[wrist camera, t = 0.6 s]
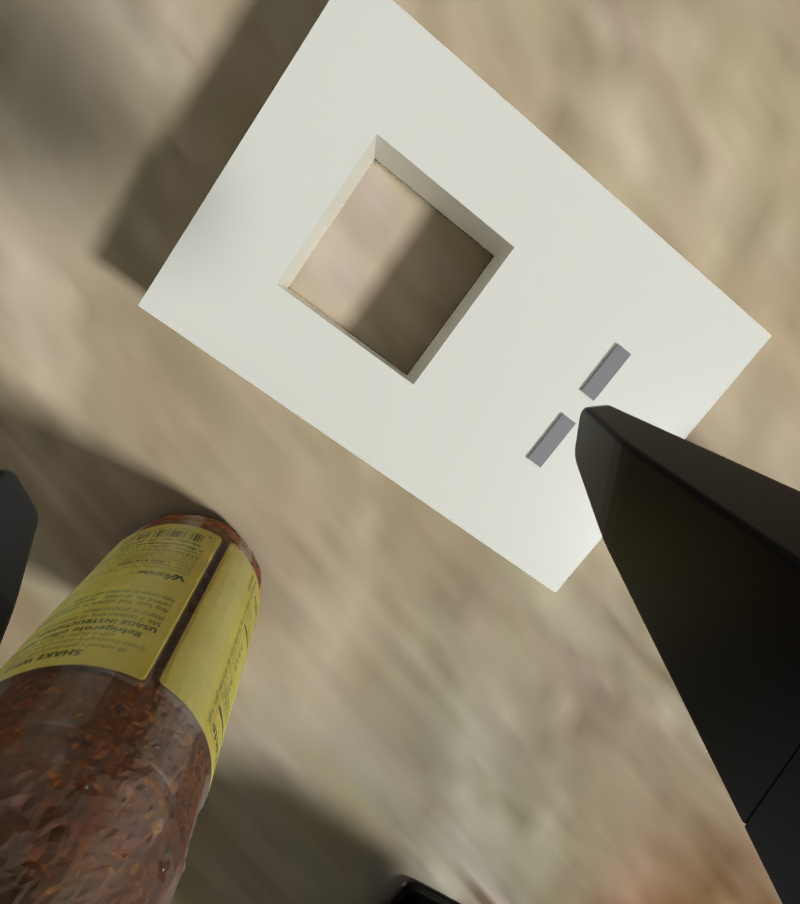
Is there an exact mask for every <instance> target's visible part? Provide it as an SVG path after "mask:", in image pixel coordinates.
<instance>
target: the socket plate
mask: <svg viewBox="0 0 800 904" xmlns="http://www.w3.org/2000/svg"><path fill="white" fill-rule="evenodd" d="M375 159H376V160H377V161H378V162H379V163H380V164H382V165H383V166H384V167H385V168H387V169H388V170H389V171H390V172H392V173H393V174H394V175H395V176H396V177H398V178H399V179H400V180H401V181H403V182H404V183H405V184H406V185H407V186H409V187H410V188H411V189H412V190H414V191H415V192H416V193H417V194H419V195H420V196H421V197H422V198H423V199H425V200H426V201H427V202H428V203H430V204H431V205H432V206H433V207H435V208H436V209H437V210H438V211H439V212H441V213H442V214H443V215H444V216H446V217H447V218H448V219H449V220H450V221H452V222H453V223H454V224H455V225H457V226H458V227H459V228H460V229H462V230H463V231H464V232H465V233H466V234H468V235H469V236H470V237H471V238H473V239H474V240H475V241H476V242H478V243H479V244H480V245H481V246H482V247H484V248H485V249H486V250H487V251H489V252H490V253H491V254H492V255H493V256H494V257H493V259H492V260H491V261H490V263H489V264H488V266H487V267H486V268H485V270H484V271H483V272H482V274H481V275H480V276H479V278H478V279H477V281H476V282H475V283H474V285H473V286H472V287H471V289H470V290H469V292H468V293H467V294H466V296H465V297H464V298H463V300H462V301H461V302H460V304H459V305H458V307H457V308H456V309H455V311H454V312H453V313H452V315H451V316H450V317H449V319H448V320H447V322H446V323H445V324H444V326H443V327H442V328H441V330H440V331H439V333H438V334H437V335H436V337H435V338H434V339H433V341H432V342H431V343H430V345H429V346H428V348H427V349H426V350H425V352H424V353H423V354H422V356H421V357H420V359H419V360H418V361H417V363H416V364H415V365H414V367H413V368H412V369H411V371H410V372H409V374H408V375H406V374H404V373H403V372H402V371H400V370H399V369H397V368H396V367H395V366H393V365H392V364H391V363H389V362H388V361H387V360H385V359H384V358H383V357H381V356H380V355H378V354H377V353H376V352H374V351H373V350H372V349H370V348H369V347H368V346H366V345H365V344H363V343H362V342H361V341H359V340H358V339H357V338H355V337H354V336H353V335H351V334H350V333H349V332H347V331H346V330H344V329H343V328H342V327H340V326H339V325H338V324H336V323H335V322H334V321H332V320H331V319H329V318H328V317H327V316H325V315H324V314H323V313H321V312H320V311H319V310H317V309H316V308H315V307H313V306H312V305H310V304H309V303H308V302H306V301H305V300H304V299H302V298H301V297H300V296H298V295H297V294H296V293H294V292H293V291H291V290H290V289H289V286H290V285H291V283H292V282H293V280H294V279H295V277H296V276H297V274H298V273H299V271H300V270H301V268H302V267H303V265H304V264H305V262H306V261H307V259H308V258H309V256H310V255H311V253H312V252H313V250H314V249H315V247H316V246H317V244H318V243H319V241H320V240H321V238H322V237H323V236H324V234H325V233H326V231H327V230H328V228H329V227H330V225H331V224H332V222H333V221H334V219H335V218H336V216H337V215H338V213H339V212H340V210H341V209H342V207H343V206H344V204H345V203H346V201H347V200H348V198H349V197H350V195H351V194H352V192H353V191H354V189H355V188H356V186H357V185H358V183H359V182H360V180H361V179H362V177H363V176H364V175H365V173H366V172H367V170H368V169H369V167H370V166H371V164H372V163H373V161H374V160H375ZM138 306H140V307H141V308H142V309H144V310H145V311H147V312H148V313H150V314H151V315H153V316H154V317H156V318H157V319H158V320H160V321H161V322H163V323H164V324H166V325H167V326H169V327H170V328H172V329H173V330H174V331H176V332H177V333H179V334H180V335H182V336H183V337H185V338H186V339H188V340H189V341H190V342H192V343H193V344H195V345H196V346H198V347H199V348H201V349H202V350H204V351H205V352H206V353H208V354H209V355H211V356H212V357H214V358H215V359H217V360H218V361H219V362H221V363H222V364H224V365H225V366H227V367H228V368H230V369H231V370H233V371H234V372H235V373H237V374H238V375H240V376H241V377H243V378H244V379H246V380H247V381H249V382H250V383H251V384H253V385H254V386H256V387H257V388H259V389H260V390H262V391H263V392H265V393H266V394H267V395H269V396H270V397H272V398H273V399H275V400H276V401H278V402H279V403H281V404H282V405H283V406H285V407H286V408H288V409H289V410H291V411H292V412H294V413H295V414H296V415H298V416H299V417H301V418H302V419H304V420H305V421H307V422H308V423H310V424H311V425H312V426H314V427H315V428H317V429H318V430H320V431H321V432H323V433H324V434H326V435H327V436H328V437H330V438H331V439H333V440H334V441H336V442H337V443H339V444H340V445H342V446H343V447H344V448H346V449H347V450H349V451H350V452H352V453H353V454H355V455H356V456H357V457H359V458H360V459H362V460H363V461H365V462H366V463H368V464H369V465H371V466H372V467H373V468H375V469H376V470H378V471H379V472H381V473H382V474H384V475H385V476H387V477H388V478H389V479H391V480H392V481H394V482H395V483H397V484H398V485H400V486H401V487H403V488H404V489H405V490H407V491H408V492H410V493H411V494H413V495H414V496H416V497H417V498H419V499H420V500H421V501H423V502H424V503H426V504H427V505H429V506H430V507H432V508H433V509H434V510H436V511H437V512H439V513H440V514H442V515H443V516H445V517H446V518H448V519H449V520H450V521H452V522H453V523H455V524H456V525H458V526H459V527H461V528H462V529H464V530H465V531H466V532H468V533H469V534H471V535H472V536H474V537H475V538H477V539H478V540H480V541H481V542H482V543H484V544H485V545H487V546H488V547H490V548H491V549H493V550H494V551H495V552H497V553H498V554H500V555H501V556H503V557H504V558H506V559H507V560H509V561H510V562H511V563H513V564H514V565H516V566H517V567H519V568H520V569H522V570H523V571H525V572H526V573H527V574H529V575H530V576H532V577H533V578H535V579H536V580H538V581H539V582H541V583H542V584H543V585H545V586H546V587H548V588H549V589H551V590H552V591H554V592H555V593H556V591H557V590H558V589H559V588H560V587H561V585H562V584H563V583H564V582H565V581H566V580H567V578H568V577H569V576H570V575H571V574H572V572H573V571H574V570H575V569H576V568H577V566H578V565H579V564H580V563H581V562H582V561H583V559H584V558H585V557H586V556H587V555H588V553H589V552H590V551H591V550H592V549H593V547H594V546H595V545H596V544H597V543H598V541H599V540H600V539H601V538H602V535H601V532H600V529H599V527H598V524H597V521H596V518H595V515H594V513H593V510H592V507H591V504H590V501H589V498H588V495H587V492H586V490H585V487H584V484H583V481H582V478H581V475H580V472H579V469H578V467H577V463H576V459H575V445H576V438H577V431H578V425H579V418H580V414H581V412H582V410H583V409H584V408H585V407H591V406H600V405H610V406H612V407H614V408H617V409H619V410H621V411H623V412H625V413H628V414H630V415H632V416H634V417H636V418H639V419H641V420H643V421H645V422H647V423H650V424H652V425H654V426H656V427H658V428H661V429H663V430H665V431H667V432H670V433H672V434H674V435H676V436H678V437H681V438H683V439H685V438H686V437H687V436H688V434H689V433H690V432H691V431H692V430H693V429H694V427H695V426H696V425H697V424H698V423H699V421H700V420H701V419H702V418H703V417H704V415H705V414H706V413H707V412H708V411H709V410H710V408H711V407H712V406H713V405H714V404H715V402H716V401H717V400H718V399H719V398H720V396H721V395H722V394H723V393H724V392H725V390H726V389H727V388H728V387H729V386H730V385H731V383H732V382H733V381H734V380H735V379H736V377H737V376H738V375H739V374H740V373H741V371H742V370H743V369H744V368H745V367H746V366H747V364H748V363H749V362H750V361H751V360H752V358H753V357H754V356H755V355H756V354H757V352H758V351H759V350H760V349H761V348H762V346H763V345H764V344H765V343H766V342H767V341H768V339H769V338H770V337H771V336H772V335H770V334H769V333H768V332H767V331H766V330H765V329H764V328H763V327H761V326H760V325H759V324H758V323H757V322H756V321H755V320H753V319H752V318H751V317H750V316H749V315H748V314H747V313H746V312H744V311H743V310H742V309H741V308H740V307H739V306H738V305H737V304H735V303H734V302H733V301H732V300H731V299H730V298H729V297H727V296H726V295H725V294H724V293H723V292H722V291H721V290H720V289H718V288H717V287H716V286H715V285H714V284H713V283H712V282H711V281H709V280H708V279H707V278H706V277H705V276H704V275H703V274H701V273H700V272H699V271H698V270H697V269H696V268H695V267H694V266H692V265H691V264H690V263H689V262H688V261H687V260H686V259H685V258H683V257H682V256H681V255H680V254H679V253H678V252H677V251H675V250H674V249H673V248H672V247H671V246H670V245H669V244H668V243H666V242H665V241H664V240H663V239H662V238H661V237H660V236H659V235H657V234H656V233H655V232H654V231H653V230H652V229H651V228H649V227H648V226H647V225H646V224H645V223H644V222H643V221H642V220H640V219H639V218H638V217H637V216H636V215H635V214H634V213H633V212H631V211H630V210H629V209H628V208H627V207H626V206H625V205H624V204H622V203H621V202H620V201H619V200H618V199H617V198H616V197H614V196H613V195H612V194H611V193H610V192H609V191H608V190H607V189H605V188H604V187H603V186H602V185H601V184H600V183H599V182H598V181H596V180H595V179H594V178H593V177H592V176H591V175H590V174H588V173H587V172H586V171H585V170H584V169H583V168H582V167H581V166H579V165H578V164H577V163H576V162H575V161H574V160H573V159H572V158H570V157H569V156H568V155H567V154H566V153H565V152H564V151H562V150H561V149H560V148H559V147H558V146H557V145H556V144H555V143H553V142H552V141H551V140H550V139H549V138H548V137H547V136H546V135H544V134H543V133H542V132H541V131H540V130H539V129H538V128H536V127H535V126H534V125H533V124H532V123H531V122H530V121H529V120H527V119H526V118H525V117H524V116H523V115H522V114H521V113H520V112H518V111H517V110H516V109H515V108H514V107H513V106H512V105H510V104H509V103H508V102H507V101H506V100H505V99H504V98H503V97H501V96H500V95H499V94H498V93H497V92H496V91H495V90H494V89H492V88H491V87H490V86H489V85H488V84H487V83H486V82H484V81H483V80H482V79H481V78H480V77H479V76H478V75H477V74H475V73H474V72H473V71H472V70H471V69H470V68H469V67H468V66H466V65H465V64H464V63H463V62H462V61H461V60H460V59H458V58H457V57H456V56H455V55H454V54H453V53H452V52H451V51H449V50H448V49H447V48H446V47H445V46H444V45H443V44H442V43H440V42H439V41H438V40H437V39H436V38H435V37H434V36H432V35H431V34H430V33H429V32H428V31H427V30H426V29H425V28H423V27H422V26H421V25H420V24H419V23H418V22H417V21H416V20H414V19H413V18H412V17H411V16H410V15H409V14H408V13H406V12H405V11H404V10H403V9H402V8H401V7H400V6H399V5H397V4H396V3H395V2H394V1H393V0H329V2H328V3H327V5H326V7H325V8H324V10H323V11H322V13H321V15H320V16H319V18H318V19H317V21H316V23H315V24H314V26H313V27H312V29H311V31H310V32H309V34H308V35H307V37H306V39H305V40H304V42H303V43H302V45H301V47H300V48H299V50H298V51H297V53H296V55H295V56H294V58H293V59H292V61H291V62H290V64H289V66H288V67H287V69H286V70H285V72H284V74H283V75H282V77H281V78H280V80H279V82H278V83H277V85H276V86H275V88H274V90H273V91H272V93H271V94H270V96H269V98H268V99H267V101H266V102H265V104H264V106H263V107H262V109H261V110H260V112H259V114H258V115H257V117H256V118H255V120H254V121H253V123H252V125H251V126H250V128H249V129H248V131H247V133H246V134H245V136H244V137H243V139H242V141H241V142H240V144H239V145H238V147H237V149H236V150H235V152H234V153H233V155H232V157H231V158H230V160H229V161H228V163H227V165H226V166H225V168H224V169H223V171H222V173H221V174H220V176H219V177H218V179H217V180H216V182H215V184H214V185H213V187H212V188H211V190H210V192H209V193H208V195H207V196H206V198H205V200H204V201H203V203H202V204H201V206H200V208H199V209H198V211H197V212H196V214H195V216H194V217H193V219H192V220H191V222H190V224H189V225H188V227H187V228H186V230H185V232H184V233H183V235H182V236H181V238H180V239H179V241H178V243H177V244H176V246H175V247H174V249H173V251H172V252H171V254H170V255H169V257H168V259H167V260H166V262H165V263H164V265H163V267H162V268H161V270H160V271H159V273H158V275H157V276H156V278H155V279H154V281H153V283H152V284H151V286H150V287H149V289H148V291H147V292H146V294H145V295H144V297H143V298H142V300H141V302H140V303H139V305H138Z"/></svg>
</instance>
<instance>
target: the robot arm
mask: <svg viewBox="0 0 800 904" xmlns="http://www.w3.org/2000/svg"><path fill="white" fill-rule="evenodd" d="M575 459H576V463H577V467H578V469H579V472H580V475H581V478H582V481H583V484H584V487H585V490H586V492H587V495H588V498H589V501H590V504H591V507H592V510H593V513H594V515H595V518H596V521H597V524H598V527H599V529H600V532H601V535H602V537H603V540H604V542H605V544H606V546H607V548H608V550H609V553H610V555H611V557H612V559H613V561H614V563H615V565H616V567H617V569H618V571H619V573H620V575H621V577H622V579H623V581H624V583H625V585H626V587H627V589H628V591H629V593H630V595H631V597H632V599H633V601H634V603H635V605H636V607H637V609H638V611H639V613H640V615H641V617H642V619H643V621H644V623H645V625H646V627H647V629H648V631H649V633H650V635H651V638H652V640H653V642H654V644H655V646H656V648H657V650H658V652H659V654H660V656H661V658H662V660H663V662H664V664H665V666H666V668H667V670H668V672H669V674H670V676H671V678H672V680H673V682H674V684H675V686H676V688H677V690H678V692H679V694H680V696H681V698H682V700H683V702H684V704H685V706H686V708H687V710H688V712H689V714H690V716H691V718H692V720H693V723H694V725H695V727H696V729H697V731H698V733H699V735H700V737H701V739H702V741H703V743H704V745H705V747H706V749H707V751H708V753H709V755H710V757H711V759H712V761H713V763H714V765H715V767H716V769H717V771H718V773H719V775H720V777H721V779H722V781H723V783H724V785H725V787H726V789H727V791H728V793H729V795H730V797H731V799H732V801H733V803H734V805H735V807H736V810H737V812H738V814H739V816H740V818H741V820H742V821H743V822H744V823H746V825H745V829H746V831H747V833H748V835H749V837H750V839H751V841H752V843H753V845H754V847H755V849H756V851H757V853H758V855H759V857H760V859H761V861H762V863H763V865H764V867H765V869H766V871H767V873H768V875H769V877H770V879H771V881H772V883H773V885H774V887H775V889H776V891H777V893H778V895H779V897H780V899H781V901H782V903H783V904H800V491H798V490H795V489H793V488H791V487H789V486H787V485H784V484H782V483H780V482H778V481H776V480H773V479H771V478H769V477H767V476H765V475H762V474H760V473H758V472H756V471H753V470H751V469H749V468H747V467H745V466H742V465H740V464H738V463H736V462H734V461H731V460H729V459H727V458H725V457H723V456H720V455H718V454H716V453H714V452H711V451H709V450H707V449H705V448H703V447H700V446H698V445H696V444H694V443H692V442H689V441H687V440H685V439H683V438H681V437H678V436H676V435H674V434H672V433H670V432H667V431H665V430H663V429H661V428H658V427H656V426H654V425H652V424H650V423H647V422H645V421H643V420H641V419H639V418H636V417H634V416H632V415H630V414H628V413H625V412H623V411H621V410H619V409H617V408H614V407H612V406H610V405H600V406H591V407H585V408H584V409H583V410H582V412H581V414H580V418H579V425H578V431H577V438H576V445H575ZM37 521H38V516H37V511H36V508H35V506H34V504H33V503H32V501H31V499H30V498H29V496H28V494H27V492H26V491H25V489H24V487H23V485H22V484H21V482H20V480H19V479H18V477H17V476H16V474H15V473H14V472H12V471H11V470H8V469H0V644H1V641H2V639H3V636H4V633H5V631H6V628H7V626H8V623H9V621H10V618H11V615H12V613H13V610H14V607H15V603H16V600H17V597H18V594H19V590H20V586H21V583H22V579H23V575H24V571H25V568H26V564H27V560H28V557H29V553H30V549H31V545H32V542H33V538H34V534H35V531H36V527H37ZM390 904H453V903H451V902H450V901H448V900H446V899H444V898H442V897H440V896H438V895H436V894H434V893H433V892H431V891H429V890H427V889H425V888H423V887H421V886H419V885H417V884H409V885H407V886H405V887H404V888H403V889H402V890H401V892H400V893H399V894H398V895H397V896H396V897H395V898H394V900H393V901H392V902H391V903H390Z"/></svg>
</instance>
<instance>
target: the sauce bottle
mask: <svg viewBox="0 0 800 904" xmlns="http://www.w3.org/2000/svg"><path fill="white" fill-rule="evenodd" d="M260 584H261V573H260V568H259V565H258V563H257V562H256V560H255V557H254V555H253V552H252V551H251V550H250V549H249V548H248V547H247V545H246V544H245V542H244V541H243V540H242V538H240V537H239V536H238V535H237V534H236V533H235V531H234V530H232V529H231V528H230V527H229V526H228V525H226V524H224V523H222V522H220V521H218V520H215V519H213V518H210V517H204V516H201V515H187V514H177V515H172V514H171V515H167V516H161V517H159V518H157V519H155V520H153V521H151V522H149V523H148V524H146V525H144V526H143V527H141V528H139V529H138V530H136V531H135V532H134V533H132V534H131V535H130V536H128V537H126V538H125V539H123V540H122V541H120V542H119V543H118V544H117V545H116V546H115V547H114V548H113V549H112V550H111V551H110V552H109V553H108V554H107V555H106V556H105V557H104V558H103V559H102V561H101V562H100V563H99V564H98V565H97V566H96V567H95V568H94V569H93V570H92V572H91V573H90V574H89V575H88V576H87V577H86V578H85V579H84V580H83V581H82V582H81V583H80V584H79V585H78V586H77V587H76V588H75V590H74V591H73V592H72V593H71V594H70V595H69V596H68V597H67V598H66V599H65V600H64V601H63V602H62V603H61V604H60V605H59V606H58V607H57V609H56V610H55V611H54V612H53V613H52V614H51V615H50V616H49V617H48V618H47V619H46V621H45V622H44V623H43V624H42V625H41V626H40V627H39V628H38V629H37V630H36V631H35V632H34V633H33V634H32V636H31V637H30V638H29V639H28V640H27V641H26V642H25V643H24V644H23V645H22V646H21V647H20V648H19V649H18V651H17V652H16V653H15V654H14V655H13V656H12V657H11V658H10V659H9V660H8V661H7V663H6V664H5V665H4V666H3V667H2V668H1V669H0V904H170V902H171V900H172V898H173V895H174V893H175V891H176V888H177V886H178V884H179V881H180V878H181V876H182V874H183V871H184V870H185V859H186V856H187V852H188V848H189V843H190V840H191V837H192V834H193V829H194V826H195V824H196V820H197V816H198V814H199V812H200V810H201V809H202V807H203V805H204V803H205V800H206V797H207V795H208V792H209V790H210V786H211V782H212V778H213V775H214V771H215V767H216V763H217V760H218V756H219V753H220V749H221V745H222V741H223V738H224V734H225V731H226V727H227V723H228V720H229V716H230V713H231V709H232V706H233V702H234V699H235V695H236V691H237V688H238V684H239V680H240V676H241V673H242V670H243V666H244V663H245V660H246V656H247V653H248V649H249V646H250V642H251V639H252V635H253V631H254V628H255V625H256V622H257V619H258V614H259V607H260V590H259V589H260Z"/></svg>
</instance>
